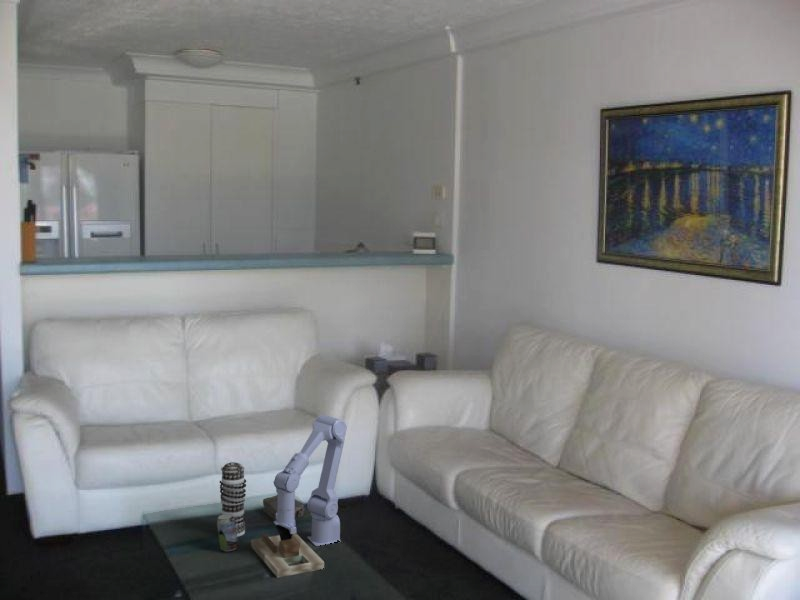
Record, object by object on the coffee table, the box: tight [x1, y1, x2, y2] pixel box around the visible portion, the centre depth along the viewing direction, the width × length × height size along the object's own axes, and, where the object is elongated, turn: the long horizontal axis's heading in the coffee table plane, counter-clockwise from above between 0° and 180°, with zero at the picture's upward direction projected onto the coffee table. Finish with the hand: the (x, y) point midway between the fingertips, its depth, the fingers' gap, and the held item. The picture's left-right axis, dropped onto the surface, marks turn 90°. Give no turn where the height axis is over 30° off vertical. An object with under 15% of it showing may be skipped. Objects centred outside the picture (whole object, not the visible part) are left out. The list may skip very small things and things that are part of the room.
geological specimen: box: [262, 495, 305, 521], centre depth 360 cm, size 11×6×15 cm
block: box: [279, 539, 299, 558], centre depth 319 cm, size 5×5×4 cm
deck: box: [250, 532, 325, 579], centre depth 322 cm, size 16×26×4 cm, turn 27°
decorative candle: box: [219, 461, 247, 538], centre depth 339 cm, size 9×9×25 cm
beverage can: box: [216, 514, 239, 552], centre depth 326 cm, size 6×7×12 cm
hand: (285, 546), depth 323 cm, fingers closed
